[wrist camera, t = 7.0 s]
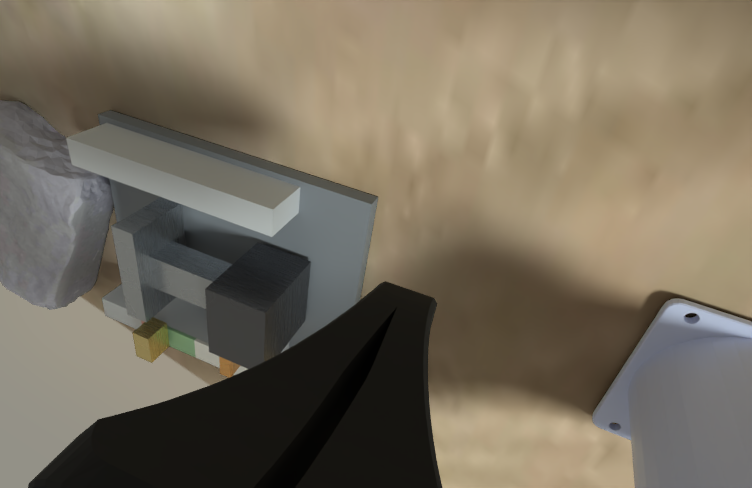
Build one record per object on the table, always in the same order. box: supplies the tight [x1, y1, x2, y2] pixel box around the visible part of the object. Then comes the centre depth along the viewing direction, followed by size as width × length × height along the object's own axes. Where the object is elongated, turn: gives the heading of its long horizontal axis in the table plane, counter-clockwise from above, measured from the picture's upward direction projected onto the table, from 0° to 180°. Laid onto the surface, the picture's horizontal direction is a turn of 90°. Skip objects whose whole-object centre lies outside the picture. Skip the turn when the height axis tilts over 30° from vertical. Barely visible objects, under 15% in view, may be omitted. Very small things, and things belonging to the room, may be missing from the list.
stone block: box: [0, 100, 114, 309], centre depth 30 cm, size 12×5×10 cm
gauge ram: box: [111, 197, 311, 378], centre depth 25 cm, size 9×7×4 cm
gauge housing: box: [66, 110, 378, 375], centre depth 26 cm, size 15×12×3 cm
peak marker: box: [133, 317, 170, 363], centre depth 27 cm, size 1×2×1 cm, turn 171°
